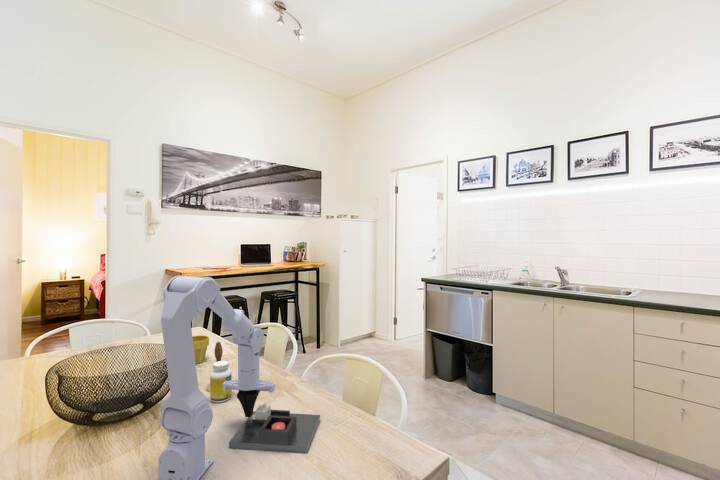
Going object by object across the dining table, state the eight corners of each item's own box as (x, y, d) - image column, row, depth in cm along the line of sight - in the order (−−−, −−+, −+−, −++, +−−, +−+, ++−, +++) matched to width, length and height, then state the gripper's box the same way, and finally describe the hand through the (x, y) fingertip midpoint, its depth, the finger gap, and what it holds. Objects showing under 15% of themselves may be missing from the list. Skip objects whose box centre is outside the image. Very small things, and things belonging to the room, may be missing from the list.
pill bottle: (224, 404, 108) (223, 367, 108) (205, 402, 109) (205, 366, 109) (235, 395, 114) (235, 360, 114) (218, 393, 116) (218, 359, 116)
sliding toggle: (265, 422, 94) (265, 409, 94) (255, 422, 95) (254, 409, 95) (270, 415, 98) (270, 402, 98) (260, 414, 99) (260, 402, 99)
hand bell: (231, 390, 118) (231, 344, 118) (205, 394, 115) (205, 346, 115) (231, 380, 126) (231, 337, 125) (206, 384, 123) (206, 339, 122)
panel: (307, 453, 84) (307, 433, 84) (229, 447, 86) (228, 429, 86) (320, 420, 99) (320, 403, 99) (253, 416, 101) (253, 400, 101)
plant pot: (184, 358, 148) (184, 336, 148) (210, 356, 151) (210, 334, 151) (179, 367, 138) (179, 343, 138) (207, 364, 141) (207, 341, 141)
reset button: (282, 439, 87) (282, 429, 87) (269, 439, 87) (269, 429, 87) (286, 432, 90) (286, 422, 90) (274, 431, 90) (274, 421, 90)
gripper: (278, 363, 100) (278, 409, 100) (230, 361, 101) (231, 407, 102) (269, 373, 93) (270, 422, 93) (218, 370, 94) (219, 419, 95)
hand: (249, 415), depth 97 cm, fingers closed
